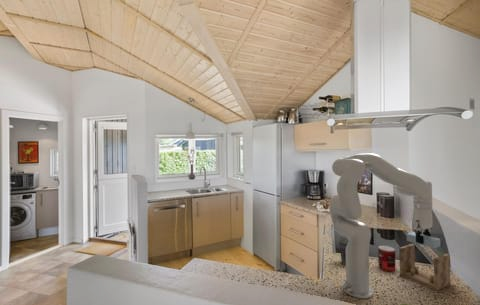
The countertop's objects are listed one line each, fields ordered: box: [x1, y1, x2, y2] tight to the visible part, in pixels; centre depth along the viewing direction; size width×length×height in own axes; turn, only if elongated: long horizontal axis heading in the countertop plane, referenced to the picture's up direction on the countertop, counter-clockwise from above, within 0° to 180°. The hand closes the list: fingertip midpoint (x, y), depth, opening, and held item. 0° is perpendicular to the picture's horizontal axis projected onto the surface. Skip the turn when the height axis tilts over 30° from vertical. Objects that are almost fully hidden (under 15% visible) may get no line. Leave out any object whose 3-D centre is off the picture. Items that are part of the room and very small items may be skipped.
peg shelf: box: [398, 243, 451, 292], centre depth 121 cm, size 12×16×14 cm
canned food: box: [377, 245, 396, 272], centre depth 133 cm, size 8×8×11 cm
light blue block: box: [406, 231, 442, 249], centre depth 121 cm, size 12×6×4 cm, turn 28°
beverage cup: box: [338, 236, 349, 266], centre depth 140 cm, size 7×7×20 cm
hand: (423, 241), depth 121 cm, fingers closed on light blue block, 6 cm apart
